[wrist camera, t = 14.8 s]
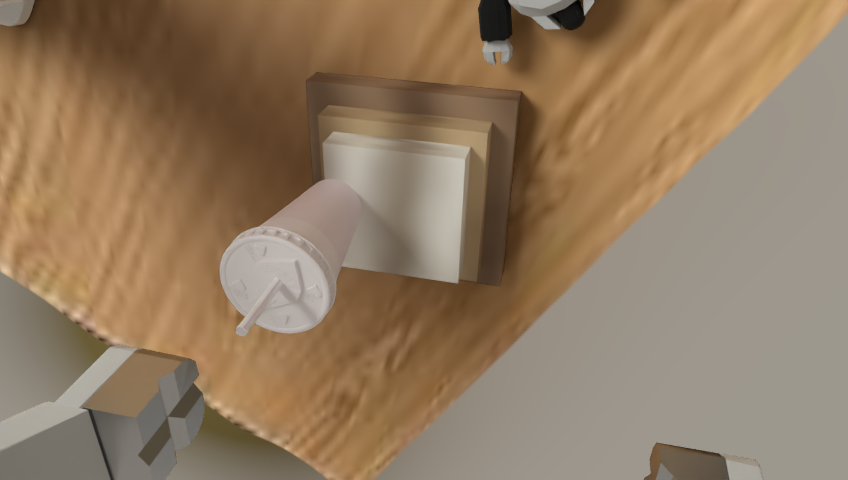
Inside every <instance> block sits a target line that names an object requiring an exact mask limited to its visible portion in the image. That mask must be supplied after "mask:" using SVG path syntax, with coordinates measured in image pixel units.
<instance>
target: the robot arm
mask: <svg viewBox="0 0 848 480" xmlns="http://www.w3.org/2000/svg"><path fill="white" fill-rule="evenodd" d="M34 1H35V0H0V24H2V25H5V26H15V25H21V24H24V23H25V22H26V21H27V20H28V18H29V16H30V14H31V11H32V8H33V5H34ZM198 376H199V373H198V369H197V365H196V361H194V360H192V359H189V358H185V357H180V356H176V355H171V354H166V353H161V352H157V351H152V350H147V349H140V348H135V347H130V346H125V345H121V344H117V345H115V346H112V347H110V348H109V349H108V350H107V351H106V352H105V353H104V354H103V355H102V356H101V357H100V358H99V359H98V360H97V361H96V362H95V363H94V364H93V365H92V366H91V367H90V368H89V369H88V370H87V371H86V372H85V373H84V374H83V375H82V376H81V377H80V378H79V379H78V380H77V381H76V382H75V383H74V384H73V385H72V386H71V387H70V388H69V389H68V390H67V391H66V392H65V393H64V394H63V395H62V396H61V397H60V398H59V399H58V400H57V401H56V402H55V403H51V402H45V403H42V404H40V405H38V406H36V407H33V408H31V409H29V410H26V411H24V412H22V413H19V414H17V415H15V416H13V417H10V418H8V419H6V420H3V421H1V422H0V480H165V479H166V478H167V476H168V475H169V473H170V472H171V471H172V469H173V468H174V466H175V465H176V463H177V459H176V451H178V450H180V449H181V448H183V447H185V446H187V445H189V444H190V443H191V442H192V440H193V439H194V437H195V436H196V434H197V433H198V431H199V428H200V425H201V422H202V419H203V416H204V404H205V403H204V398H203V393H202V392H201V391H200V390H199V389H198V387H197V386H196V385H195V384H194V383H193V382H194V381H195V380H196V378H197V377H198ZM650 470H651V474H650V475H648V476H647V477H645V478H644V480H763V476H762V472H761V468H760V465H759V464H758V462H757V461H756V460H754V459H749V458H742V457H737V456H731V455H725V454H721V455H720V454H718V453H713V452H707V451H702V450H696V449H690V448H684V447H678V446H673V445H667V444H661V443H656V444H655V446H654V447H653V450H652V453H651V457H650Z"/></svg>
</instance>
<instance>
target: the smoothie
mask: <svg viewBox="0 0 848 480" xmlns="http://www.w3.org/2000/svg"><path fill="white" fill-rule="evenodd" d="M361 213H362V205H361V201H360V198H359V196H358V195H357V193H356V192H355V191H354V190H353V189H352V188H351V187H350V186H349V185H347V184H346V183H344V182H342V181H339V180H335V179H325V180H322V181H319V182H317V183H316V184H315V185H313V186H312V187H311V188H309V189H308V190H307V191H305V192H304V193H303V194H301V195H300V196H299V197H298V198H296V199H295V200H294V201H292V202H291V203H290V204H288V205H287V206H286V207H284V208H283V209H282V210H280V211H279V212H278V213H276V214H275V215H274V216H273V217H271V218H270V219H269V220H267V221H266V222H264V223H263V224H262V225H260V226H259V227H255V228H251V229H249V230H247V231H245V232H242V233H241V234H240V235H238V236H237V237H236V238H235V239H234V240H233V241H232V243H231V245H230V246H229V247H228V248H227V250H226V251H225V253H224V254H223V256H222V259H221V263H220V280H221V284H222V287H223V289H224V291H225V294H226V295H227V297H228V299H229V300H230V302H231V303H232V304H233V306H234V307H235V308H236V309H237V310H238V311H239V312H240V313H241V314H242V315H243V316H245V318H244V319H243V320H242V321H241V323H240V324H239V325H238V327H237V328H236V332H237V334H238V335H240V336H246V334H247V333H248V332H249V330H250V329H251V328H252V326H253V325H254V323H255V324H256V325H259V326H261V327H263V328H265V329H268V330H271V331H275V332H279V333H300V332H304V331H307V330H310V329H312V328H313V327H315V326H316V325H318V324H319V323H320V322H321V321H322V320H323V319H324V317H325V316H326V314H327V313H328V312H329V310H330V309H331V307H332V306H333V304H334V301H335V297H336V293H337V291H336V281H337V278H338V275H339V273H340V270H341V267H342V265H343V262H344V259H345V257H346V254H347V251H348V249H349V246H350V243H351V241H352V238H353V235H354V233H355V230H356V227H357V225H358V222H359V219H360V217H361Z"/></svg>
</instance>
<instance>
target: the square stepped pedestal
mask: <svg viewBox="0 0 848 480" xmlns="http://www.w3.org/2000/svg"><path fill="white" fill-rule="evenodd" d="M306 91H307V105H308V119H309V133H310V148H311V162H312V176H313V185H315V184H316V183H317V182H319V181H322V180H325V179H335V180H339V181H342V182H344V183H346V184H347V185H349V186H350V187H351V188H352V189H353V190H354V191H355V192H356V193H357V195H358V196H359V198H360V201H361V205H362V213H361V217H360V219H359V222H358V225H357V227H356V230H355V233H354V235H353V238H352V241H351V243H350V246H349V249H348V251H347V254H346V257H345V259H344V262H343V265H342V266H343V267H350V268H356V269H363V270H370V271H377V272H383V273H390V274H397V275H404V276H411V277H417V278H424V279H431V280H438V281H444V282H451V283H458V282H459V281H466V282H473V283H479V284H486V285H493V286H500V284H501V280H502V276H503V270H504V260H505V250H506V240H507V230H508V220H509V210H510V200H511V190H512V180H513V170H514V160H515V150H516V140H517V130H518V120H519V110H520V100H521V91H513V90H502V89H491V88H480V87H470V86H459V85H448V84H437V83H427V82H416V81H405V80H394V79H383V78H373V77H362V76H351V75H340V74H330V73H319V72H316V73H315V74H314V75H313V76H311V77H310V78H309V79H308V80H306Z"/></svg>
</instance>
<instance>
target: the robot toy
mask: <svg viewBox="0 0 848 480" xmlns="http://www.w3.org/2000/svg"><path fill="white" fill-rule="evenodd" d="M508 1H509V2H508ZM510 4H511V5H512V6H513V7H514V8H515V9H516V10H517V11H518V12H519V13H520V14H523V15H526V16H529V17H531V18H533V19H534V20H535V21H536V22H537V23H538V24H539V25H541V26H542V27H543V28H544V29H545V30H548V29H561V24H562V25H563V27H564V28H565V29H567V30H574V29H576V28H578V27H580V26H581V25H582V24H583V22H584V21H585V14H586V13H587V12H588V10H589V9H590V8H591V6H592V5H593V4H594V0H583V5H584V11H583V8H582V6H581V4H580V2H579V0H481V2H480V5H479V8H478V12H479V23H480V34H481V39H482V41H486V42H485V44H484V47H483V49H482V52H483V55H484V58H485V61H487V62H488V63H490V64H491V65H493V64H496V59H495V52H500V51H501V64H505V63H507V62H508V61H509V60H510V59H511V58H512V52H513V47H512V45H511V44H510V42H509V40H508V39H509V38H510V36H511V35H512V20H511V5H510ZM555 12H556V13H555Z"/></svg>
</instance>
